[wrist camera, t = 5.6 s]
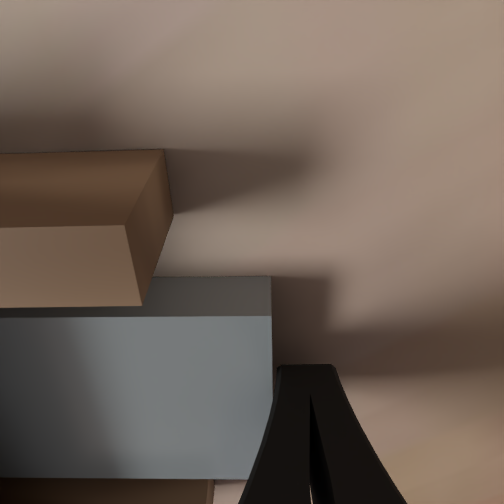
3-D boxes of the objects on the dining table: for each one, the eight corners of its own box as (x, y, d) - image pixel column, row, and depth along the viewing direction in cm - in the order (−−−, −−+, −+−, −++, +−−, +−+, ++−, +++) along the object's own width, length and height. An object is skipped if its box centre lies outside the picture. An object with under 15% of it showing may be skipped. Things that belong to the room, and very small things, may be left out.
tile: (273, 419, 15) (273, 479, 13) (-35, 418, 15) (-73, 476, 13) (270, 262, 11) (271, 316, 10) (-123, 266, 12) (-188, 319, 10)
